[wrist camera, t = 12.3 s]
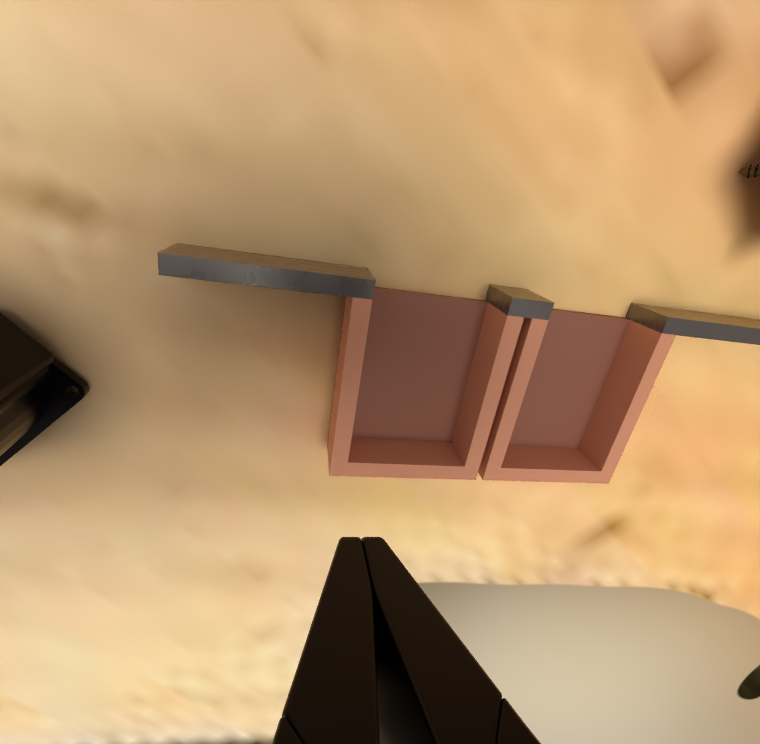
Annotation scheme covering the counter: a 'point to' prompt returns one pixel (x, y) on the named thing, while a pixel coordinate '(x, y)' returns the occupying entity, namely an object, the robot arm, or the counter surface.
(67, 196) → the counter surface
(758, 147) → the counter surface
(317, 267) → the lane rails
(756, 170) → the game die
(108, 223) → the counter surface
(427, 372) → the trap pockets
